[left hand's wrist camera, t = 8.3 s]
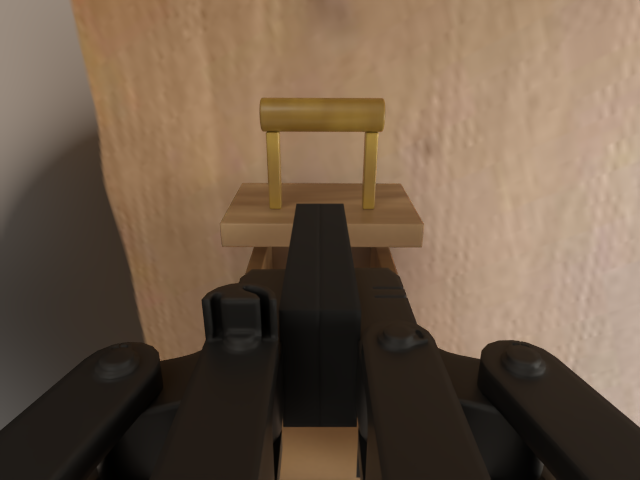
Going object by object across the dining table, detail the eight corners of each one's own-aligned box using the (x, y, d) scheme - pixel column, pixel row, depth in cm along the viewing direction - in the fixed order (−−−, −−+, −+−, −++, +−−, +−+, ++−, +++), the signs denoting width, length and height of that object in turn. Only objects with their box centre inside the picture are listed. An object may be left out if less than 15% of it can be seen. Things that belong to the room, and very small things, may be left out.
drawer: (235, 88, 25) (208, 103, 19) (408, 89, 25) (436, 104, 19) (257, 400, 34) (243, 477, 28) (384, 400, 34) (397, 478, 28)
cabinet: (243, 296, 31) (218, 382, 23) (398, 296, 31) (424, 382, 23) (257, 479, 39) (241, 591, 31) (382, 479, 39) (398, 592, 31)
